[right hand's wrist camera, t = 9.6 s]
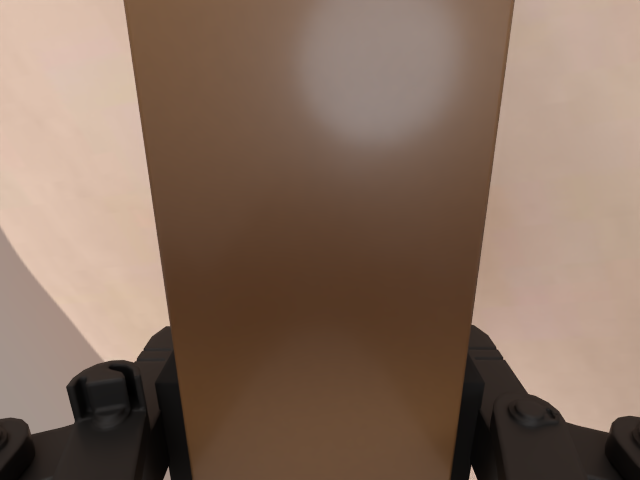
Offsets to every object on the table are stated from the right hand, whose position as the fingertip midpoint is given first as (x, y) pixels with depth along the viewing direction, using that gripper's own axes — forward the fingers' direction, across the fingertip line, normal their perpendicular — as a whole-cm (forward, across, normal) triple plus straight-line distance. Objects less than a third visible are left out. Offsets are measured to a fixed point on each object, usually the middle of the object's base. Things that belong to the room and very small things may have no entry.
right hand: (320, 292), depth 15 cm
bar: (+1, 0, -32) cm, 32 cm away
